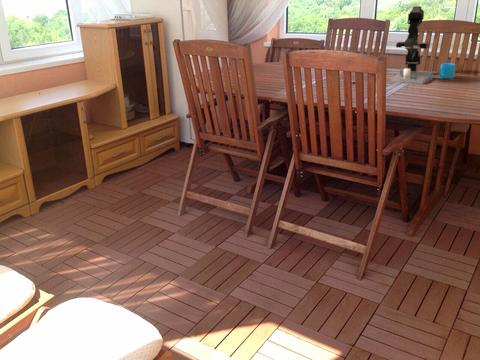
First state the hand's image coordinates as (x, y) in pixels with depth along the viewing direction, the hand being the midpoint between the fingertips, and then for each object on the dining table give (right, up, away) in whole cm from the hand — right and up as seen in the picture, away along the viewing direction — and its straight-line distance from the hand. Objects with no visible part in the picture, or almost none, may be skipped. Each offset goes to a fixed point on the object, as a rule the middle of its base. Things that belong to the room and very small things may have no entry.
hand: (411, 59), depth 309 cm
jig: (-1, -13, -2) cm, 14 cm away
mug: (+22, -11, +2) cm, 24 cm away
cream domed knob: (-3, -13, 0) cm, 13 cm away
